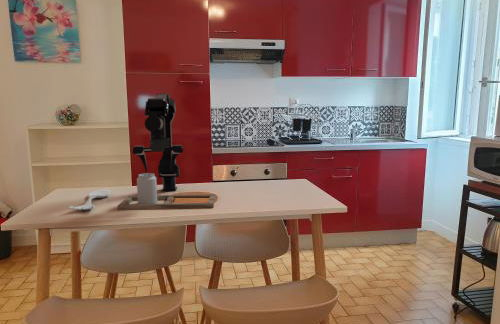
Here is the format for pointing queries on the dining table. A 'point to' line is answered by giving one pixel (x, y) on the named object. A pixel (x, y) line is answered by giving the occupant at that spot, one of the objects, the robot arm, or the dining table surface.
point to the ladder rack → (168, 202)
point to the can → (147, 188)
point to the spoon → (94, 194)
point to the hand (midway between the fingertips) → (159, 171)
